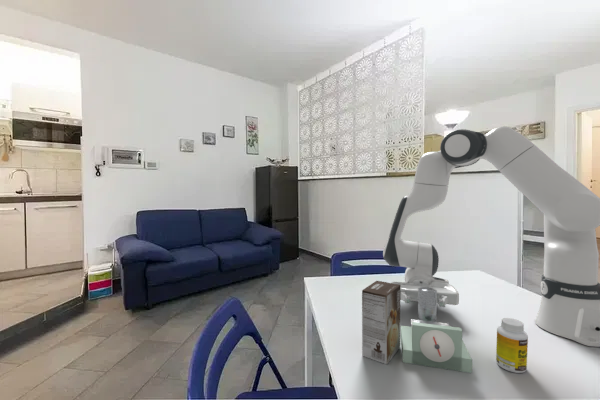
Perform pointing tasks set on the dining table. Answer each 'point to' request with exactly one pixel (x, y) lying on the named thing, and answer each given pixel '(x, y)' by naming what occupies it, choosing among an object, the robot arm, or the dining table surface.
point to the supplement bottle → (512, 346)
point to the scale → (435, 347)
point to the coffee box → (381, 321)
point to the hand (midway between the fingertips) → (424, 302)
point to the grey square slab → (429, 322)
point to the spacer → (427, 304)
